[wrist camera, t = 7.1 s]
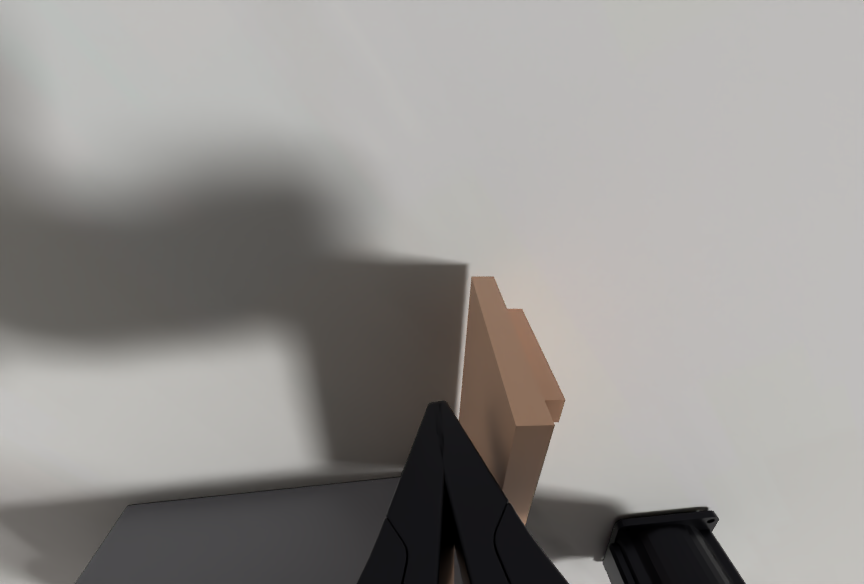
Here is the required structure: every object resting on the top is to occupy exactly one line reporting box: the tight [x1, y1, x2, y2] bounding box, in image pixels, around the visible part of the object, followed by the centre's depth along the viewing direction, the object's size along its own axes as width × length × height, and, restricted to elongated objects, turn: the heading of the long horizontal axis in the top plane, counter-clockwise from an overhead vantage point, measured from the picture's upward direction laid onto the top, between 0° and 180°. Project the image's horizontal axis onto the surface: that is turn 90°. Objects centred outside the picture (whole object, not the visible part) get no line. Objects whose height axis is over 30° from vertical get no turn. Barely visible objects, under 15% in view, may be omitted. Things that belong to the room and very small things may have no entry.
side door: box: [459, 277, 565, 584], centre depth 13 cm, size 12×2×6 cm, turn 179°
